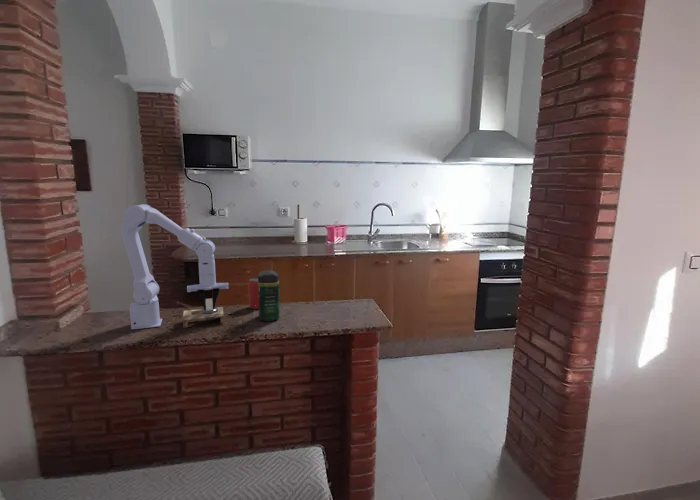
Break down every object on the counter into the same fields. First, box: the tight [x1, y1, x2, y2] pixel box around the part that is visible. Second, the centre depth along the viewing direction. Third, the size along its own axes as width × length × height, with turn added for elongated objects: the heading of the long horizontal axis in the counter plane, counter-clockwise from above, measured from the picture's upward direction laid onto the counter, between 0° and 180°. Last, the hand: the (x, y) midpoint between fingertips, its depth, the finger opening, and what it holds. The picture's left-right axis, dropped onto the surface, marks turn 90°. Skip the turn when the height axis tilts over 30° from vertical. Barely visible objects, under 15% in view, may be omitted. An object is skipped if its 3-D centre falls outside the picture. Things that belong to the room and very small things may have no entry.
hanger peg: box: [200, 298, 218, 321], centre depth 147 cm, size 6×6×7 cm
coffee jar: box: [257, 269, 280, 322], centre depth 151 cm, size 10×8×19 cm
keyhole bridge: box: [182, 306, 225, 329], centre depth 147 cm, size 14×8×4 cm, turn 110°
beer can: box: [247, 277, 259, 310], centre depth 164 cm, size 7×7×12 cm
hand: (209, 308), depth 147 cm, fingers closed on hanger peg, 2 cm apart
